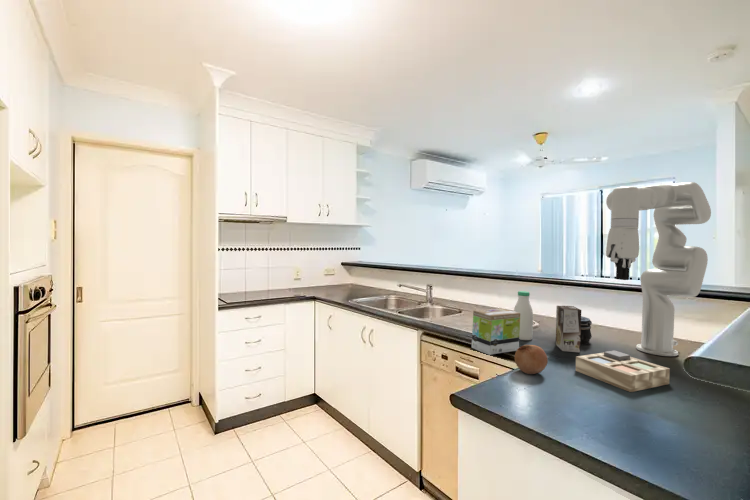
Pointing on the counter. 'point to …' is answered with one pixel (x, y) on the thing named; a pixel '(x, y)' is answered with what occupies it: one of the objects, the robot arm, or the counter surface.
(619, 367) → the key terracotta
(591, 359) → the key pale blue
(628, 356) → the key charcoal
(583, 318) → the container
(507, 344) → the tea box
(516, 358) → the onion
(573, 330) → the coffee box
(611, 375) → the wooden puzzle board
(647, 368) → the key sage
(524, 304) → the milk bottle
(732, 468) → the counter surface
